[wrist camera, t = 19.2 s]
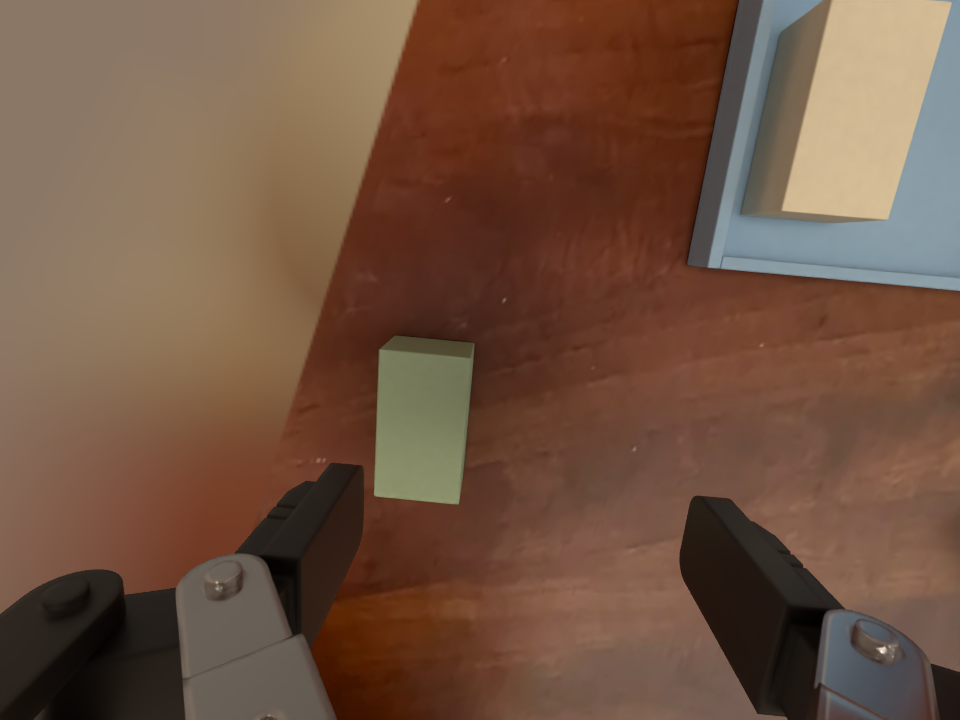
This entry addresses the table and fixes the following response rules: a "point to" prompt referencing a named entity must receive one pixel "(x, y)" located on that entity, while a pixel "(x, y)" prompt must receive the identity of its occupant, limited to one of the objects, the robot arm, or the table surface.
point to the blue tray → (832, 246)
